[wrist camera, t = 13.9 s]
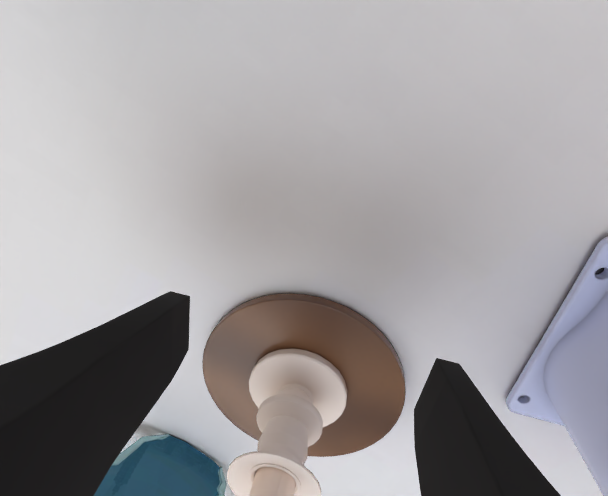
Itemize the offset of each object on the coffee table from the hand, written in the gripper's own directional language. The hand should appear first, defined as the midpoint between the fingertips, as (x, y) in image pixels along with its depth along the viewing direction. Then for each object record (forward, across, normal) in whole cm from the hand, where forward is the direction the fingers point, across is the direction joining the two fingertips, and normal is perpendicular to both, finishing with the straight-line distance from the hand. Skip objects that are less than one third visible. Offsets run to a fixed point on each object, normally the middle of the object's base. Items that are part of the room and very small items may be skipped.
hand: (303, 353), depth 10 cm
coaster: (+7, 0, +8) cm, 10 cm away
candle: (+6, 0, +8) cm, 10 cm away
